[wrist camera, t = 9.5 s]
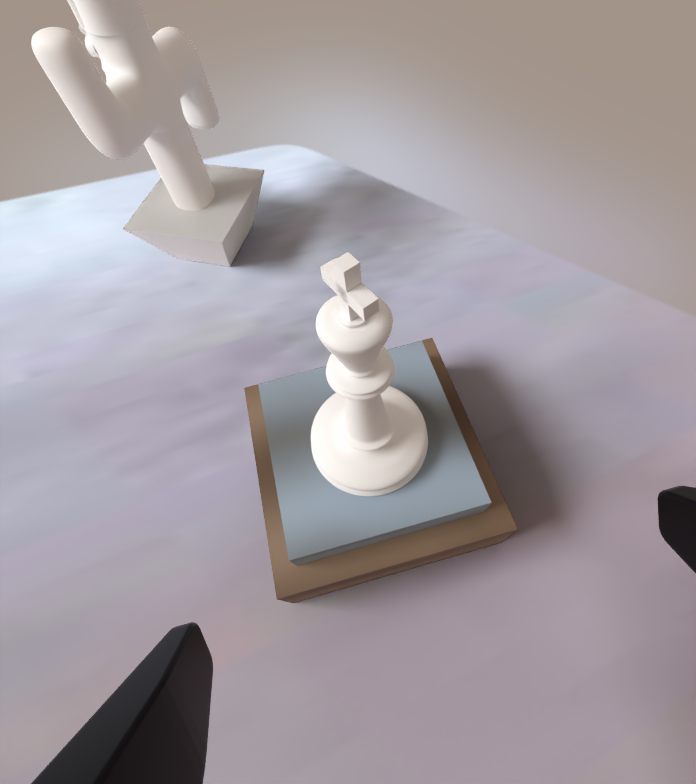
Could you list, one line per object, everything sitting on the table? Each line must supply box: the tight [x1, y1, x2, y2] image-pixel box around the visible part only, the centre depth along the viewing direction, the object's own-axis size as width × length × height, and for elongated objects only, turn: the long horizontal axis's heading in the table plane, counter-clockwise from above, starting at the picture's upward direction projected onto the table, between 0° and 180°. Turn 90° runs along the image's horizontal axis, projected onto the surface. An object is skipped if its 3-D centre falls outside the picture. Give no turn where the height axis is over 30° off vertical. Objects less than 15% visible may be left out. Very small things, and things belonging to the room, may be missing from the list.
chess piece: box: [311, 252, 428, 496], centre depth 14 cm, size 5×5×10 cm
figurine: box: [32, 0, 264, 267], centre depth 25 cm, size 7×9×15 cm
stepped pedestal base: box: [245, 338, 518, 603], centre depth 20 cm, size 10×10×4 cm
